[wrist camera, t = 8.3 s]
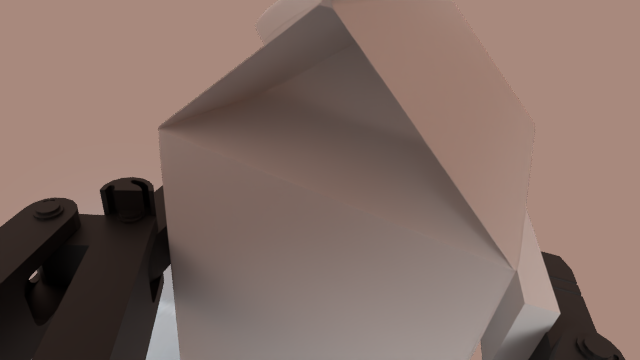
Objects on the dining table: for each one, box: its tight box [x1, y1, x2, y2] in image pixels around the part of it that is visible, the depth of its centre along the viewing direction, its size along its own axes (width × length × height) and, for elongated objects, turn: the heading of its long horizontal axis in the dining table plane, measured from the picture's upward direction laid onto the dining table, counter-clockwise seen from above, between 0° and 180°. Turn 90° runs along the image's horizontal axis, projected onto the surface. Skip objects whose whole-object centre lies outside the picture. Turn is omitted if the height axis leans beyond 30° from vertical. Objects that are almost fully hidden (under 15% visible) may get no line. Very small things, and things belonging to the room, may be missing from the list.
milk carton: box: [158, 0, 535, 360], centre depth 12 cm, size 7×7×19 cm
